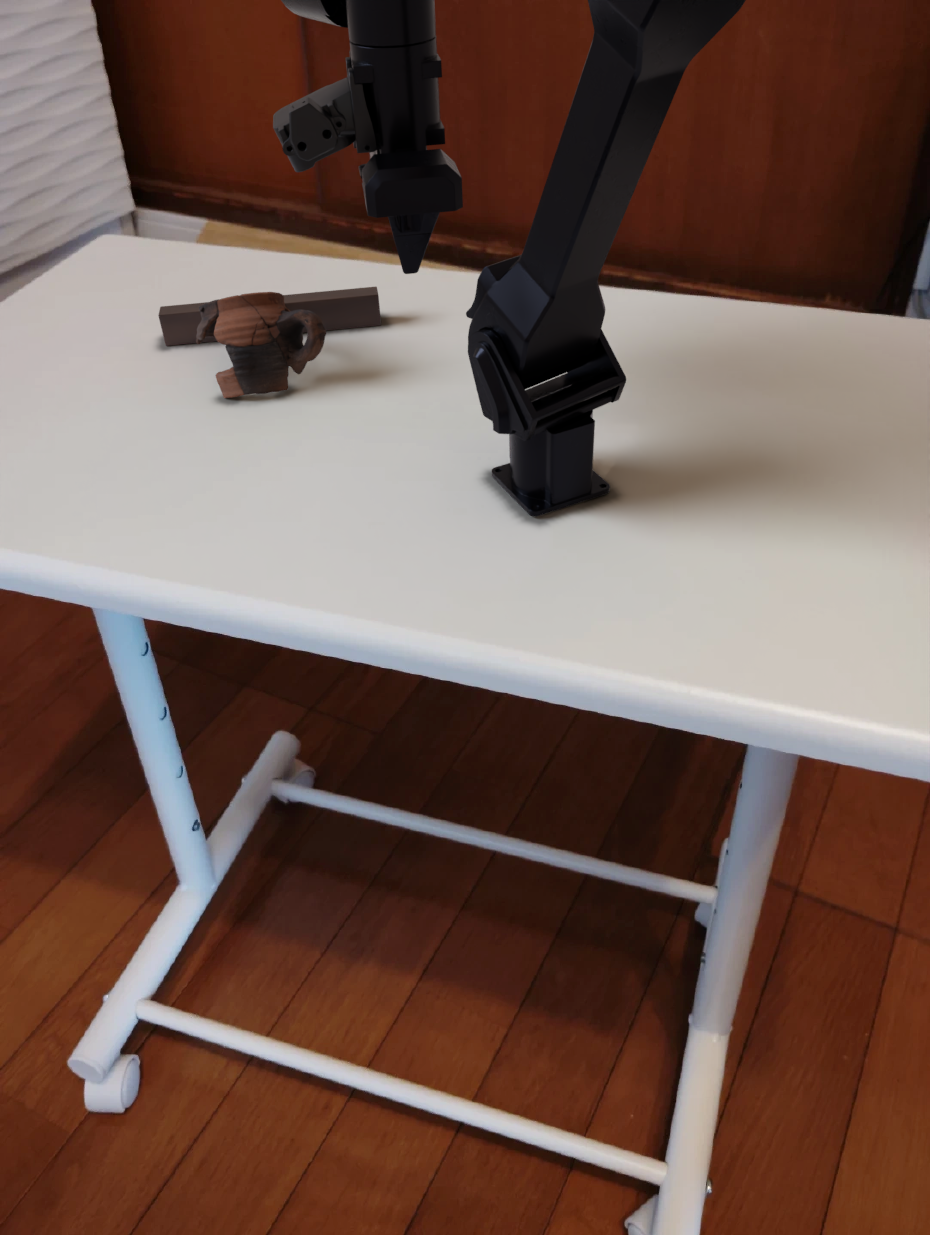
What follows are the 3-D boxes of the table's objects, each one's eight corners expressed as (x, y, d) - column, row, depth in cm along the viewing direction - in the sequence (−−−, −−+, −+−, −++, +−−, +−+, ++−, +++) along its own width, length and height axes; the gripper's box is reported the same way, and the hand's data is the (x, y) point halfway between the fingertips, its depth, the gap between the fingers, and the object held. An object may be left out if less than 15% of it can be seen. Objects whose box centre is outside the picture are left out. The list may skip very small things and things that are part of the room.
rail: (381, 325, 96) (378, 294, 94) (165, 346, 94) (158, 315, 92) (379, 316, 97) (376, 286, 95) (167, 337, 95) (160, 306, 93)
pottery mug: (188, 407, 86) (166, 307, 84) (244, 404, 94) (225, 313, 93) (315, 381, 82) (294, 276, 80) (361, 380, 91) (343, 285, 89)
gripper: (270, 20, 73) (301, 237, 83) (268, 81, 59) (306, 335, 69) (423, 9, 74) (436, 225, 84) (458, 67, 60) (468, 319, 70)
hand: (410, 272), depth 77 cm, fingers closed
